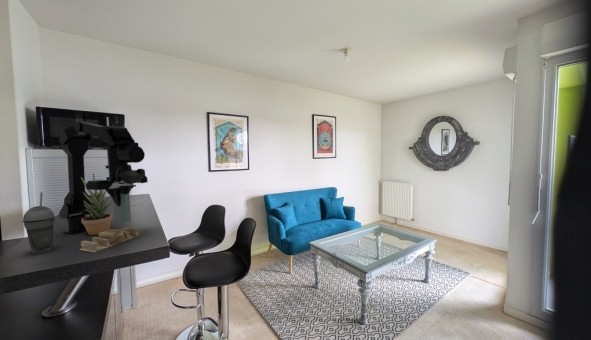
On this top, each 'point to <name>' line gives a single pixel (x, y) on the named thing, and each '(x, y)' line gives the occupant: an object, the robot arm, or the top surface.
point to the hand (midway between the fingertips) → (121, 205)
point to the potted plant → (97, 212)
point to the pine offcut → (111, 234)
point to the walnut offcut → (117, 239)
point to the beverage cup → (39, 228)
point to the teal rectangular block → (123, 209)
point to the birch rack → (106, 241)
